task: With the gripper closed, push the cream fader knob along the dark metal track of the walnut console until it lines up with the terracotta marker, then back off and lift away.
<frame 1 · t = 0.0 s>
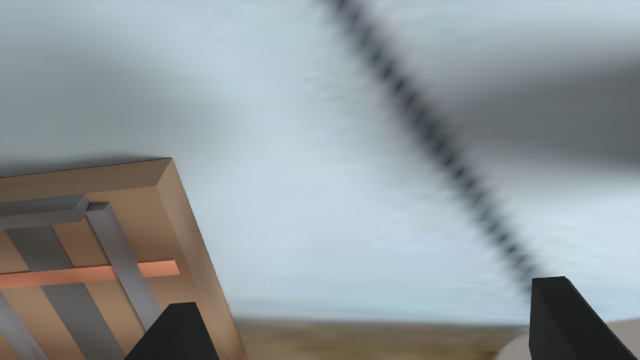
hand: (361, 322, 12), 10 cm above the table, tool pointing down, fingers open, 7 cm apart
console: (125, 332, 28), on the table
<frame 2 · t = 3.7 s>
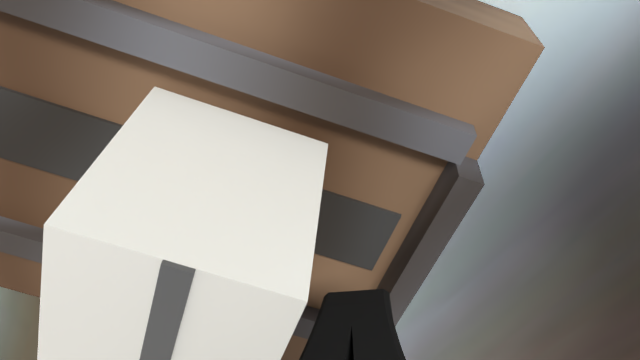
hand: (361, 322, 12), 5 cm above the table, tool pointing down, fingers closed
console: (78, 99, 15), on the table
fader knob: (191, 269, 11), point 5 cm above the table, slide at 0.4 cm, touching gripper
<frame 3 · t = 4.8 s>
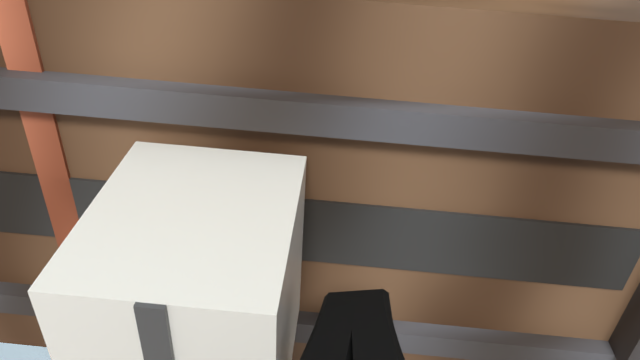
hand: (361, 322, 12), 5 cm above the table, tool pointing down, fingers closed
console: (296, 184, 16), on the table
fader knob: (200, 302, 12), point 5 cm above the table, slide at 6.6 cm, touching gripper
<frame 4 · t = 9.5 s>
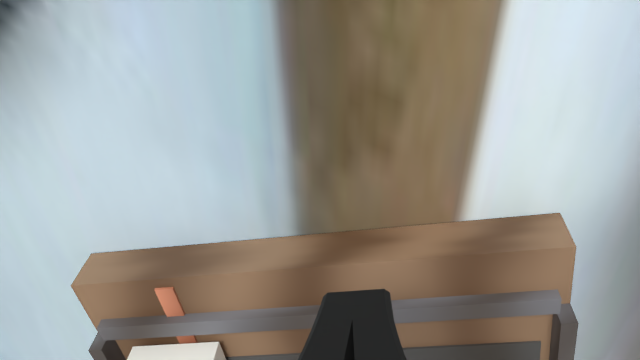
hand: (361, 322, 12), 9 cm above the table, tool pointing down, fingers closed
console: (332, 331, 26), on the table
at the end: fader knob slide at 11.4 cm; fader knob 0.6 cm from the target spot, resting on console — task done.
